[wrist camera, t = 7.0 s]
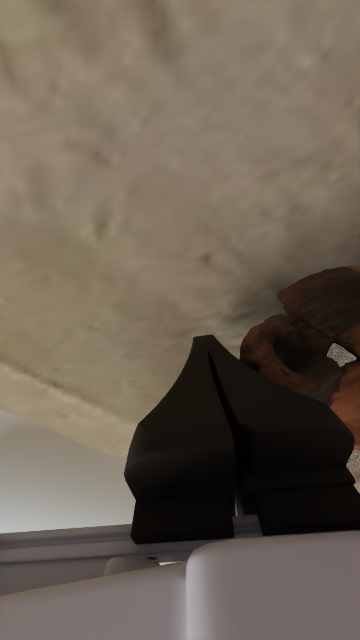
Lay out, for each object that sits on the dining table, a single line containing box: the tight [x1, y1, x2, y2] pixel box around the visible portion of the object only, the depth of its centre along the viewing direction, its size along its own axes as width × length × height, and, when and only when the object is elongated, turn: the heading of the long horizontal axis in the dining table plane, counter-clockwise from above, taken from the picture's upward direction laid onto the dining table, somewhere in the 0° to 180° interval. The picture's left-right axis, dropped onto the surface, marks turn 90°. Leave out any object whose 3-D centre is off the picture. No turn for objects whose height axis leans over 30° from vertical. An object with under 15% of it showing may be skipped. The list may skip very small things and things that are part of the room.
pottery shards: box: [239, 266, 360, 450], centre depth 11 cm, size 12×10×8 cm
